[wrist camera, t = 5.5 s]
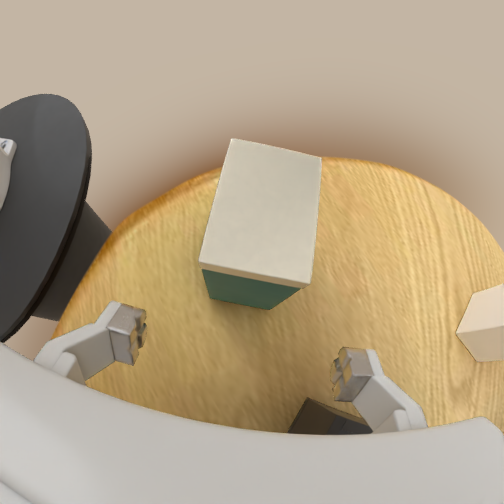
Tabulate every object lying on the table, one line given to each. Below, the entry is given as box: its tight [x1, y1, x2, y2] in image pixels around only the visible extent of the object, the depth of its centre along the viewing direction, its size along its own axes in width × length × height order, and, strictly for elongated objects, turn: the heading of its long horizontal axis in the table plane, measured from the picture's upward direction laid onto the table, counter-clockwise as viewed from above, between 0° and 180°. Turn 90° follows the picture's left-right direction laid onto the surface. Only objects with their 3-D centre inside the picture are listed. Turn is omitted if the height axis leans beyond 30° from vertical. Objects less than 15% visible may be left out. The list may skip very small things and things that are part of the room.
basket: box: [287, 397, 373, 435], centre depth 15 cm, size 15×15×7 cm
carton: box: [198, 139, 322, 310], centre depth 19 cm, size 5×7×11 cm
